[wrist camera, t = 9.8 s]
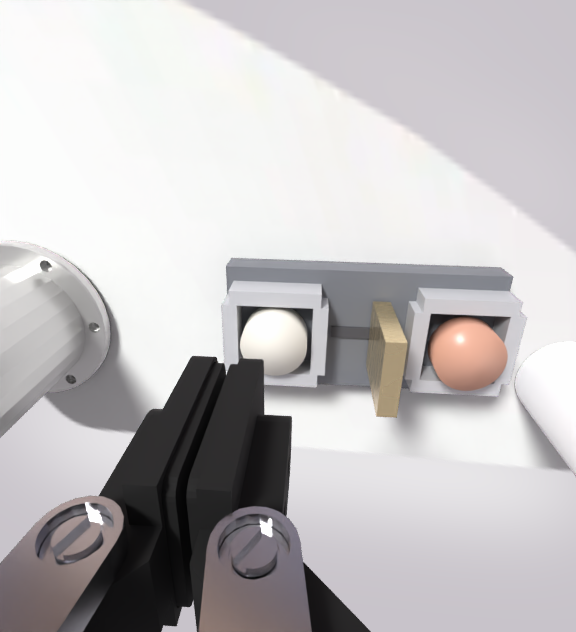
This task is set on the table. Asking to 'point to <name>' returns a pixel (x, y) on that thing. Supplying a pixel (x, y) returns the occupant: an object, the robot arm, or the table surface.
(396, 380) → the thick plank
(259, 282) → the panel
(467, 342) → the terracotta button
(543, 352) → the can
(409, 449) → the table surface
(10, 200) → the table surface
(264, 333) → the cream button
